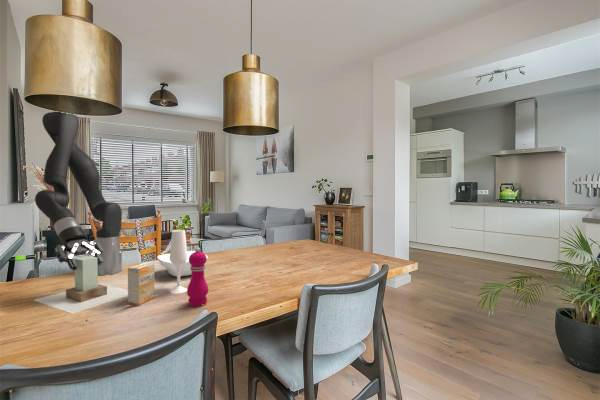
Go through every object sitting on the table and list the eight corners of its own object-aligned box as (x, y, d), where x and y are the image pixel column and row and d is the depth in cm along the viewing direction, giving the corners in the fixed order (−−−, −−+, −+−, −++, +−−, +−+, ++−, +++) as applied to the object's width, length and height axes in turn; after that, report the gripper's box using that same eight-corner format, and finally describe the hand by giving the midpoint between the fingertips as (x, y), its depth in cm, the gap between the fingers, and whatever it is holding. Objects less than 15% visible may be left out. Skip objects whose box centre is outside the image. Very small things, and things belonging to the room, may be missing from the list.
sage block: (89, 284, 115) (89, 255, 114) (97, 287, 112) (97, 257, 112) (75, 288, 110) (74, 258, 110) (83, 291, 108) (82, 260, 108)
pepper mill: (197, 308, 104) (197, 250, 103) (182, 304, 108) (182, 248, 107) (212, 301, 111) (212, 247, 110) (198, 298, 114) (198, 244, 113)
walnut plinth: (92, 290, 118) (92, 282, 117) (107, 294, 114) (106, 286, 113) (66, 297, 109) (65, 289, 109) (80, 302, 106) (80, 293, 105)
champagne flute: (167, 293, 118) (167, 232, 117) (172, 288, 124) (171, 229, 123) (185, 293, 119) (185, 231, 118) (189, 287, 125) (189, 229, 124)
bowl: (152, 273, 145) (152, 255, 144) (194, 266, 159) (194, 249, 158) (167, 284, 129) (167, 264, 129) (213, 275, 143) (213, 257, 143)
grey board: (98, 285, 127) (98, 282, 127) (136, 294, 116) (136, 292, 116) (33, 302, 107) (33, 300, 107) (72, 316, 96) (72, 313, 96)
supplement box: (139, 306, 106) (139, 268, 105) (127, 304, 107) (127, 267, 106) (155, 297, 114) (155, 262, 113) (143, 296, 115) (143, 261, 114)
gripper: (51, 227, 107) (70, 264, 103) (94, 223, 120) (112, 255, 116) (43, 241, 110) (62, 277, 105) (86, 235, 123) (104, 268, 118)
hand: (88, 266), depth 110 cm, fingers open, 8 cm apart
